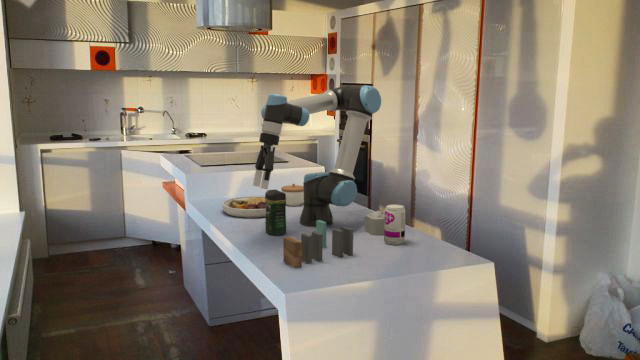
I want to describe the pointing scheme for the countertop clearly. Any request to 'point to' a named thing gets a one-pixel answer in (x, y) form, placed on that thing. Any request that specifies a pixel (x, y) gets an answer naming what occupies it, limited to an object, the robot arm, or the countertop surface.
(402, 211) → the supplement can
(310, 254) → the domino
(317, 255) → the domino
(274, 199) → the coffee jar
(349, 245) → the domino
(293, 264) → the end block
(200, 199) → the countertop surface
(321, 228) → the domino
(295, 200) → the lidded bowl
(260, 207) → the bowl
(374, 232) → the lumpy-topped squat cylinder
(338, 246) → the domino
